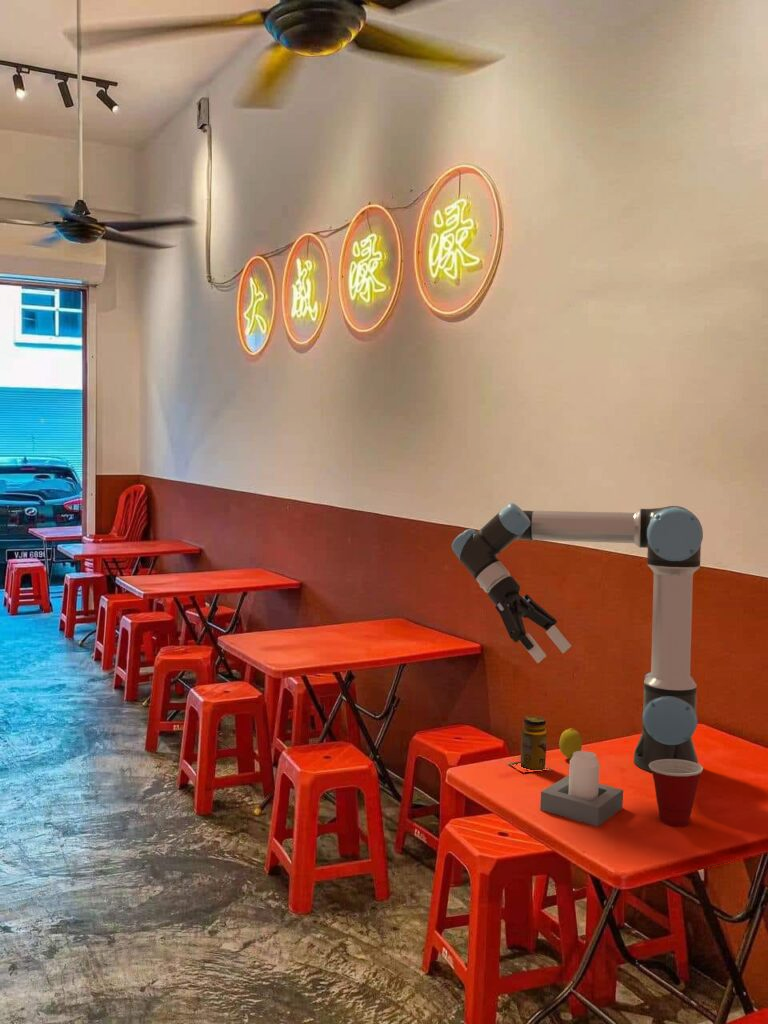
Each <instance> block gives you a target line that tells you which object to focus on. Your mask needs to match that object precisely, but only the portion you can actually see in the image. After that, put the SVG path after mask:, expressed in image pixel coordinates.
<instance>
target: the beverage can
mask: <svg viewBox="0 0 768 1024" xmlns="http://www.w3.org/2000/svg"><path fill="white" fill-rule="evenodd" d="M568 768H569V771H568V774H569V775H568V776H569V795H572V796H576V797H580V798H583V799H587V800H591V801H593V800H594V799H596V798H597V797H598V789H599V784H600V762H599V760H598V758H597V754H596V753H594V752H592V751H587V750H581V751H576V752H574V753H573V756H572V758H571V759H569V767H568Z"/></svg>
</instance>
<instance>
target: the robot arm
mask: <svg viewBox="0 0 768 1024" xmlns="http://www.w3.org/2000/svg"><path fill="white" fill-rule="evenodd" d="M703 531H704V530H703V526H702V524H701V522H700V520H699V518H698V517H697V516H696V515H695V514H694V513H693V512H692V511H690V510H688V509H687V508H685V507H682V506H679V505H669V506H664V507H657V508H639V509H638V510H636V511H635V512H618V511H617V512H616V511H615V512H613V511H611V512H610V511H569V510H568V511H567V510H566V511H563V510H562V511H560V510H523V509H521V508H520V507H519V506H518V505H517V504H516V503H514V502H511V503H508V504H507V505H505V507H503V508H502V509H500V510H499V511H498V512H497V514H496V515H494V517H492V518H491V519H490V520H489V521H488V522H487V523H486V524H484V526H482V527H481V528H480V529H479V530H475V529H474V528H469V529H466V530H464V531H463V532H462V533H460V534H458V535H457V536H456V537H455V538H454V540H453V542H452V543H451V549H452V551H453V553H454V554H455V555H456V557H457V558H458V560H459V562H460V563H461V564H462V565H463V566H464V567H465V568H466V570H467V571H468V572H469V573H470V575H471V576H472V577H473V578H474V580H475V581H476V583H478V585H479V588H480V589H482V590H483V591H484V592H485V593H486V594H487V596H488V597H489V599H490V600H491V602H492V603H493V604H494V605H495V610H496V611H497V612H498V614H499V615H500V618H501V619H502V622H503V624H504V627H505V628H506V631H507V633H508V636H509V637H510V639H511V640H513V641H514V642H515V643H518V642H520V643H521V645H522V646H523V648H525V650H526V651H527V652H528V653H529V654H530V656H531V657H532V659H534V661H535V662H536V664H539V663H540V662H541V661H543V660H544V659H545V658H546V657H547V654H546V652H545V651H544V650H543V649H542V648H541V647H540V645H539V644H538V643H537V642H536V640H535V639H534V637H532V635H531V634H530V633H528V632H526V629H525V625H524V620H523V618H524V619H528V620H530V621H532V623H533V622H534V623H535V625H538V626H539V627H541V628H542V629H544V630H545V633H546V635H547V636H548V637H549V638H550V640H551V641H552V642H553V643H554V645H555V646H556V647H557V649H559V651H560V652H561V654H564V653H566V652H567V651H568V650H569V649H570V648H571V647H572V645H571V643H570V642H569V641H568V640H567V639H566V638H565V636H564V635H563V634H562V633H561V631H560V630H559V629H558V627H557V626H556V624H558V622H557V619H556V617H555V618H554V616H553V615H551V614H550V613H549V612H548V611H547V610H546V609H544V608H543V607H541V606H540V604H538V603H537V602H535V601H534V600H533V598H532V597H531V596H530V595H529V594H524V596H522V595H521V594H520V590H521V585H520V584H519V583H518V581H516V579H515V578H514V577H513V576H511V573H510V572H509V570H508V569H507V567H505V566H504V564H503V563H502V562H501V561H500V560H499V559H498V557H497V556H498V555H500V554H501V552H503V551H504V550H505V549H506V548H507V547H508V546H509V545H511V544H512V543H513V542H514V541H517V540H519V541H520V540H522V541H551V542H552V541H554V542H555V541H559V542H583V543H587V542H589V543H609V544H610V543H612V544H615V543H616V544H619V543H620V544H635V546H637V547H638V548H643V549H645V548H647V552H646V553H647V554H646V555H647V557H646V558H647V560H646V561H647V562H646V564H647V566H648V567H649V569H650V570H652V572H653V583H652V585H653V586H652V587H653V592H652V624H651V625H652V627H651V628H652V629H651V631H652V632H651V660H650V661H651V662H650V663H651V665H650V666H651V668H650V672H648V673H646V674H645V677H644V681H643V705H642V706H643V707H642V708H643V711H642V713H641V714H642V715H641V716H642V717H641V720H642V731H641V735H640V737H639V740H638V742H637V745H636V747H635V750H634V752H633V762H634V765H636V766H637V767H638V768H640V769H642V770H645V771H647V772H650V773H652V771H651V769H650V768H649V764H650V762H653V761H655V760H662V759H679V760H687V761H691V762H695V763H697V764H699V760H698V756H697V753H696V749H695V745H694V741H693V737H692V736H693V735H694V734H695V732H696V729H697V727H698V721H699V720H698V716H697V687H698V685H697V683H696V682H695V679H694V678H693V677H692V676H691V659H692V657H691V651H692V646H691V645H692V622H693V621H692V619H693V618H692V617H693V583H694V581H693V580H694V573H695V572H696V571H697V570H699V569H700V568H701V553H702V551H701V550H702V542H703V539H704V532H703Z"/></svg>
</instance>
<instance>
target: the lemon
mask: <svg viewBox="0 0 768 1024" xmlns="http://www.w3.org/2000/svg"><path fill="white" fill-rule="evenodd" d="M558 743H559V745H558V746H559V750H560V752H561V754H562V755H563V756H565V757H566V758H567V759H568V760H571V758H572V756H573V753H574V752H576V751H582V748H583V741H582V737H581V734H580V733H579V732H578V730H575V729H574V728H573V727H570V728H568V729H565V730H564V731H563V732H562V733H561V735H560V738H559V741H558Z"/></svg>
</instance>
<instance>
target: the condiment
mask: <svg viewBox="0 0 768 1024" xmlns="http://www.w3.org/2000/svg"><path fill="white" fill-rule="evenodd" d="M546 723H547V722H546V719H545V718H543V717H541V716H535V715H532V716H530V715H529V716H525V717H524V718H523V728H522V729H521V740H520V741H521V743H520V761H517V762H516V761H514V762H507V763H506V764H507V765H508V766H510V765H514V764H516V765H517V764H518V763H521V767H523V768H526V769H530V770H543V769H545V767H547V768H546V769H548V768H549V770H548V771H552V770H553V768H551V767H548V766H547V765H546V757H547V736H548V734H547V733H548V731H547V730H546ZM509 764H510V765H509Z"/></svg>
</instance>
